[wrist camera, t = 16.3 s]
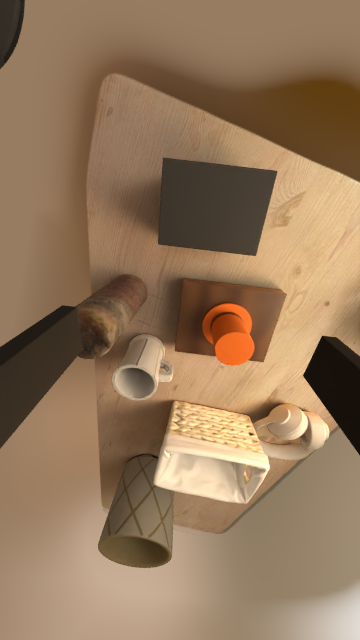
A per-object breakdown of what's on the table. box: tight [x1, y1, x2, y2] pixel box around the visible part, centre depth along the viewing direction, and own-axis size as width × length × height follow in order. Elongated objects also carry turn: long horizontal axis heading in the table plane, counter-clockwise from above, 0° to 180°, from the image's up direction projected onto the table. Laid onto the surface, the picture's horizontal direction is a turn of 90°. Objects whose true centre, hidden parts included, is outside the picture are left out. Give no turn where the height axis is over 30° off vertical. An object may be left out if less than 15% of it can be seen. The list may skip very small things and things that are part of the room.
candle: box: [75, 275, 147, 359], centre depth 35 cm, size 8×7×20 cm
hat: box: [202, 303, 254, 365], centre depth 39 cm, size 10×10×9 cm
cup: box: [112, 334, 173, 401], centre depth 44 cm, size 10×9×12 cm
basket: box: [153, 401, 269, 504], centre depth 53 cm, size 24×16×15 cm
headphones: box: [253, 404, 329, 460], centre depth 55 cm, size 18×8×20 cm
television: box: [158, 158, 277, 256], centre depth 32 cm, size 14×10×11 cm
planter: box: [98, 454, 174, 568], centre depth 62 cm, size 19×19×20 cm
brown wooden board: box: [175, 278, 287, 362], centre depth 44 cm, size 20×16×3 cm
